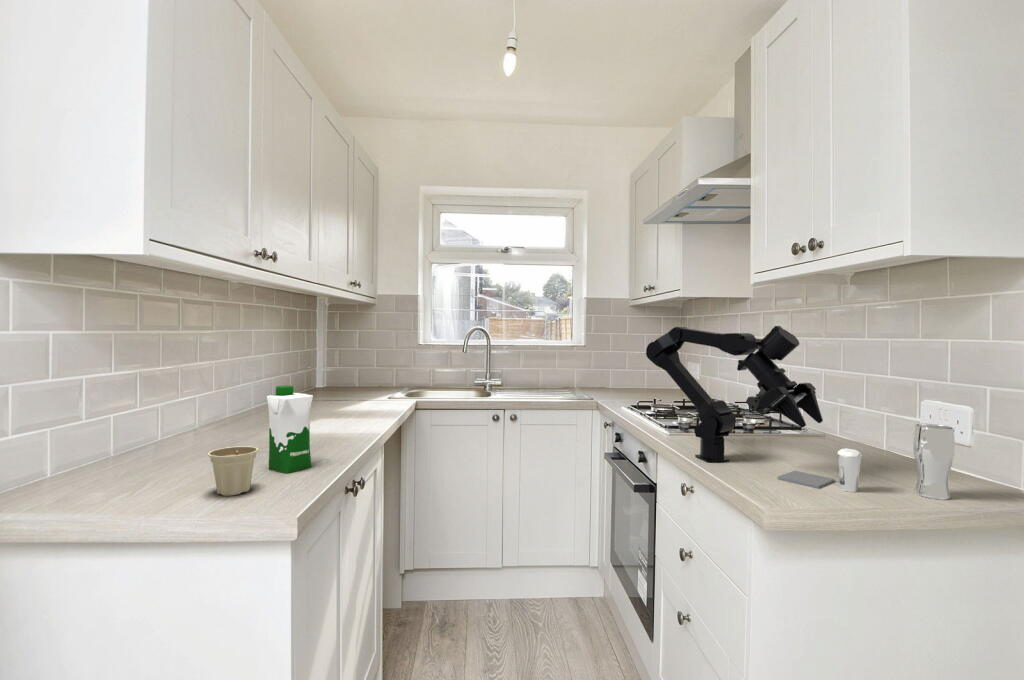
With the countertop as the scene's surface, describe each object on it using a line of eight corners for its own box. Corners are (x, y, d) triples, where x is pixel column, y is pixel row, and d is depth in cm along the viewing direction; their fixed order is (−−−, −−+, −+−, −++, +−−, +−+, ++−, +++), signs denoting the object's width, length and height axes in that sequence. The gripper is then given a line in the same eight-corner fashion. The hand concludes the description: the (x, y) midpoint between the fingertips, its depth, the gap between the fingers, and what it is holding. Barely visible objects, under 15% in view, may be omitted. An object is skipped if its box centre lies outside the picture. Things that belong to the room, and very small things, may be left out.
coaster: (777, 479, 126) (777, 476, 126) (794, 472, 132) (794, 470, 132) (818, 488, 119) (818, 485, 119) (834, 481, 125) (834, 478, 125)
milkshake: (852, 495, 115) (853, 448, 115) (831, 487, 120) (832, 443, 120) (869, 493, 116) (870, 447, 116) (847, 486, 121) (848, 442, 121)
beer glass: (950, 494, 116) (953, 425, 116) (954, 502, 110) (957, 430, 110) (911, 488, 120) (913, 422, 120) (912, 496, 114) (915, 426, 114)
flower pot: (203, 490, 113) (203, 449, 113) (251, 482, 119) (251, 443, 119) (213, 501, 106) (213, 458, 106) (263, 492, 112) (263, 451, 112)
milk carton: (294, 461, 137) (294, 384, 136) (317, 467, 132) (317, 386, 132) (262, 469, 130) (262, 387, 129) (286, 475, 125) (286, 390, 124)
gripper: (761, 390, 143) (803, 439, 134) (724, 395, 131) (768, 449, 123) (793, 363, 136) (839, 412, 128) (757, 366, 125) (805, 420, 116)
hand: (812, 424), depth 124 cm, fingers open, 9 cm apart
